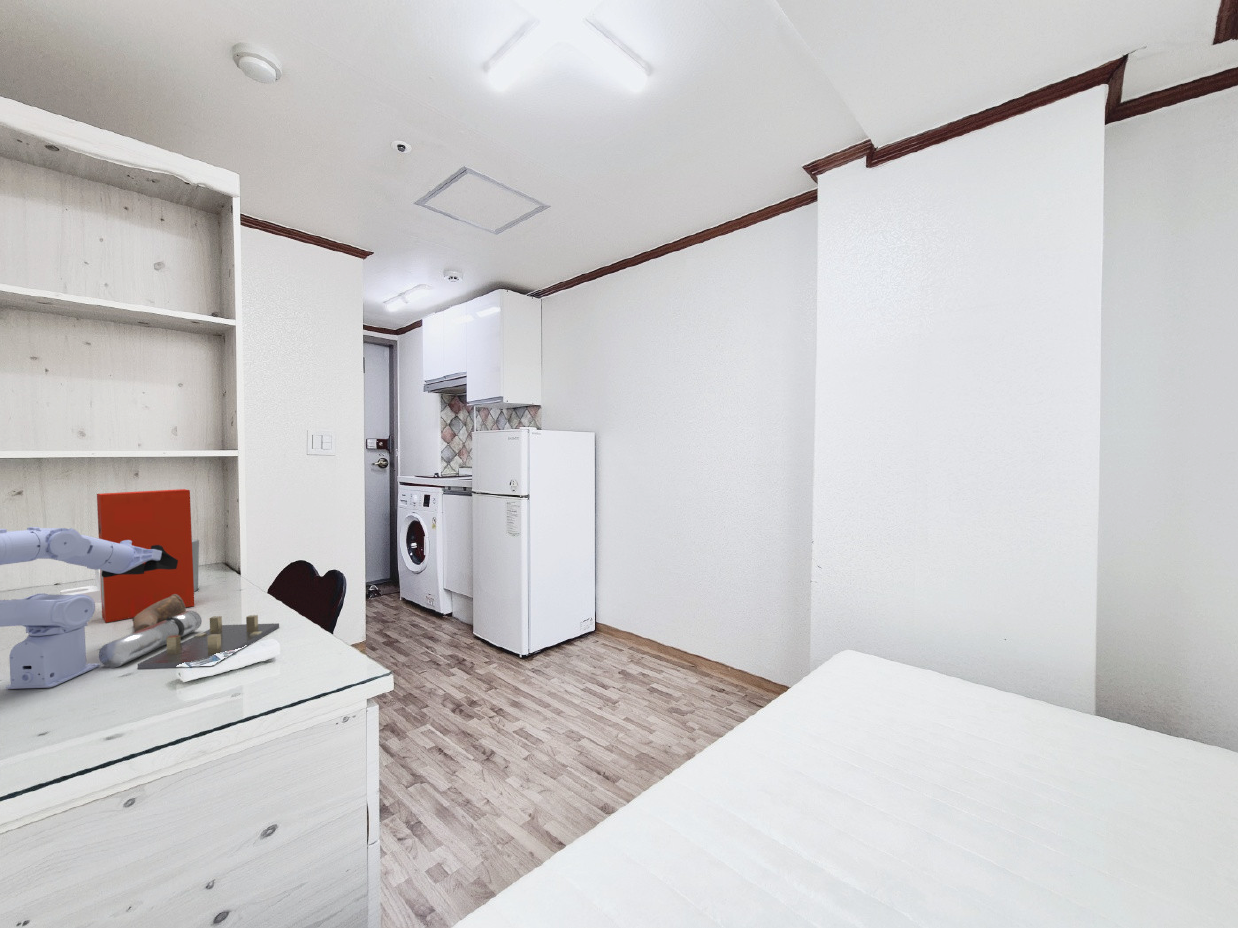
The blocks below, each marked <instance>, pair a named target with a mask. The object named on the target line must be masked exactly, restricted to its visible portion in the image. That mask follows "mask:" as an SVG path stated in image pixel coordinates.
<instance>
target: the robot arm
mask: <svg viewBox="0 0 1238 928" xmlns="http://www.w3.org/2000/svg"><path fill="white" fill-rule="evenodd" d="M131 544H132V541H130V540H124V541H121V542H120V544H119V543H115V542H111V541H107V540H103V539H99V537H94V536H91V535H85V534H81V533H80V532H79V531H77V530H76V529H75V528H72V527H70V528H65V527H39V526H28V527H26V529H23V530H22V529H21V530H8V529H7V528H0V566H4V565H11V564H18V563H19V564H20V563H26V562H33V561H36V560H38V559H39V560H41V559H42V560H47V559H48V560H55V561H59V562H62V563H63V562H64V563H66V564H69V565H75V566H81V567H84V568H85V567H86V569H90V570H94V571H95V570H98V569H100V570H102V577H111V576H115V575H124V574H144V572H145V571H151V570H156V569H168V570H171V569H176V568H177V564H178V560H177V559H175V558H174V557H172V556H170V555H169V554H168V553H166V552H165V550H164V549H163V547H162V546H160V545H153V546H151V549H144V548H140V547H136V546H132V545H131ZM144 562H145V564H143V563H144ZM95 611H96V603H95V602H94V600H93V599H92V598H91V597H90V596H88V595H85V594H76V595H60V594H53V593H52V594H51V593H50V594H48V593H45V592H44V593H35V594H31V595H29V596H26V597H23V598H13V599H0V628H2V627H15V626H16V627H17V626H19V627H20V626H21V627H24V628H25V633H26V634H28V635H27V637H26V638H25V639H24V640H22V641H20V642H18V643H16V644H15V645H14V646H13V647H12V648H11V650H10V652H9V659H8V661H9V675H10V677H9V680H10V684H8V685H6V686H5V689H6V690H15V689H16V690H18V689H42V688H45V689H46V688H47V689H48V688H54V687H55V686H57V685H60V684H63V683H64V682H66V681H69V680H71V679H74V678H76V677H78V676H81V675H83V674H84V673H86V672H89V671H91V670H93V669H96V668H99V667H100V666H101V663H99V662H98V663H97V662H96V663H87V652H86V651H87V650H86V629H85V628H86V627H88V622H89V621H90V620H91V619H92V618H93V616H94V614H95Z"/></svg>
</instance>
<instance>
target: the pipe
mask: <svg viewBox="0 0 1238 928" xmlns="http://www.w3.org/2000/svg"><path fill="white" fill-rule="evenodd" d="M186 609H187V607H185V604H184V602H183V600H182V599H181V597H180V596H179V595H177V594H173V595H171V596H170V597H168V598H165V599H163V600H161V601H158V602H156V603H154V604H153V605H151V606H149V607H147V608H146V609H144V610H143V611H141V612H140V613H139V614H137V615H136V616H135V617H134V618H131V619H132V624H133V630H134V632H133V633H135V632H137V631H139V630H142V629H144V628H147V627H149V626H152V625H154V624H157V623H159V622H161V621H164V620H166V619H167V618H168V617H174V616H176V615H179V614H181V613H184V612H186V611H187V610H186Z"/></svg>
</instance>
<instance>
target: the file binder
mask: <svg viewBox="0 0 1238 928" xmlns="http://www.w3.org/2000/svg"><path fill="white" fill-rule="evenodd" d="M96 505H97V506H96V507H97V527H98V528H97V533H98V538H99V539H103V540H107V541H111V542H115V543H119V544H120V542H121V541H124V540H130V541H132V544H131V545H132V546H136V547H140V548H144V549H151V546H153V545H160V546H162V547H163V549H164V550H165V552H166V553H168V554H169V555H170V556H172V557H174V558H175V559H177V560H178V564H177V568H176V569H171V570H168V569H156V570H151V571H145V572H144V574H124V575H115V576H111V577H102V570H100V578H101V601H102V602H101V616H102V620H103V621H104V622H105V623H106V624H107V623H112V622H118V621H122V620H123V621H124V620H128V619H133V618H134V617H135V616H136V615H137V614H139V613H140V612H141V611H143V610H144V609H146V608H147V607H149V606H151V605H153V604H154V603H156V602H158V601H161V600H163V599H165V598H168V597H170V596H171V595H173V594H177V595H179V596H180V597H181V599H182V600H183V602H184V604H185V607H186V608H191V607H194V606H195V592H194V581H193V556H192V540H193V534H192V533H193V532H192V510H191V509H192V508H191V490H190V489H185V488H182V489H181V488H179V489H178V488H177V489H161V490H159V489H158V490H143V491H141V490H140V491H128V492H127V491H125V492H124V491H123V492H122V491H121V492H108V493H107V492H105V493H96ZM143 564H145V562H144V563H143Z"/></svg>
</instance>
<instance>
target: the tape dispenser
mask: <svg viewBox="0 0 1238 928" xmlns="http://www.w3.org/2000/svg"><path fill="white" fill-rule="evenodd" d="M94 575H95V577H94V578H95V579H94V581H95V584H94V585H93V584H92V585H88V586H87V585H86V586H81V587H80V586H79V587H72V588H68V589H67V588H65V589H62V590H60V591H59V595H76V594H85V595H88V596H90V597H91V598H92V599H93V600H94V602H95V604H98V603H102V601H101V578H100V569H98V570H94Z"/></svg>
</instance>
